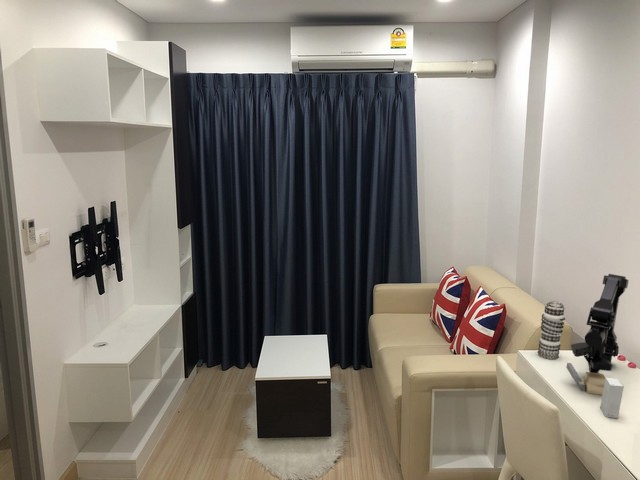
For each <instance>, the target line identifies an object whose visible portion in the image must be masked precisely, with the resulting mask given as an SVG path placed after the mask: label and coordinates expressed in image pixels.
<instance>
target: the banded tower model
mask: <svg viewBox="0 0 640 480" xmlns="http://www.w3.org/2000/svg"><path fill="white" fill-rule="evenodd" d="M565 309H566V306H564V304H563V303H562V302H560V301H554V300H550V301H547V302H546V303H545V304H544V310H543V313H542V314H541V322H540V325H541V326H540V332H541V336H540V338H539V340H538V341H539V343H538V348H537V350H538V351H537V356H539V357H541V358H543V359H546V360H557V359H559V357H560V350H561V336H562V334H563V330H562V329H564V325H565V320H566V318H565V314H564V313H565Z"/></svg>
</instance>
